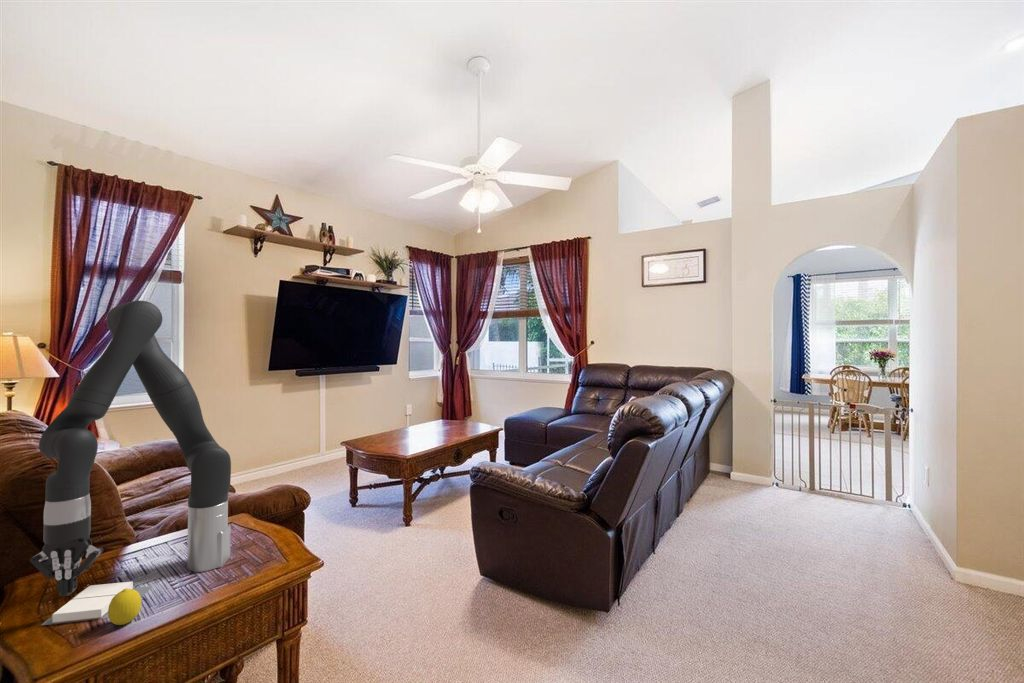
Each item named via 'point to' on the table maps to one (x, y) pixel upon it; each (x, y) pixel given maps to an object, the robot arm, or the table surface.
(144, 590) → the slate mat
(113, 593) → the white flat block
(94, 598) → the pink flat piece
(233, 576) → the table surface
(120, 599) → the lemon
